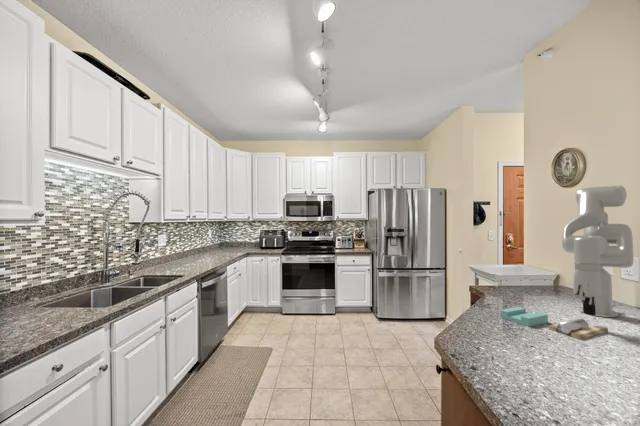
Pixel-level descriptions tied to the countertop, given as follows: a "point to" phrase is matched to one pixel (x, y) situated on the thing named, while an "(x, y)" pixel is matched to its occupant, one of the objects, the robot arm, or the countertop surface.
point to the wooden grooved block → (582, 331)
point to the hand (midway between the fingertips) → (589, 314)
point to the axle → (572, 326)
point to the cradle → (524, 316)
